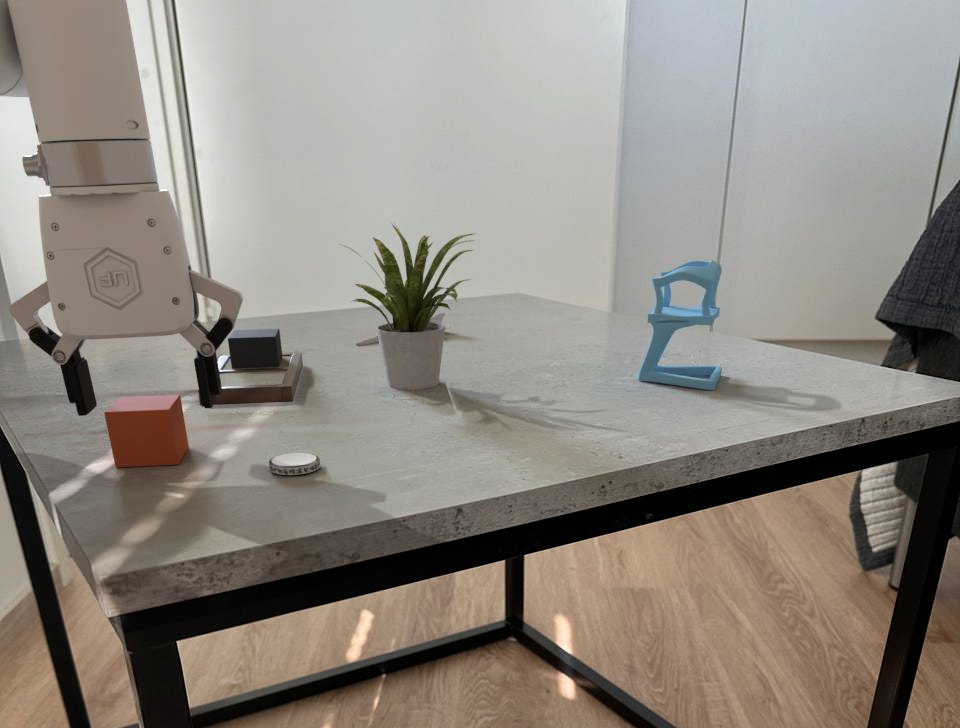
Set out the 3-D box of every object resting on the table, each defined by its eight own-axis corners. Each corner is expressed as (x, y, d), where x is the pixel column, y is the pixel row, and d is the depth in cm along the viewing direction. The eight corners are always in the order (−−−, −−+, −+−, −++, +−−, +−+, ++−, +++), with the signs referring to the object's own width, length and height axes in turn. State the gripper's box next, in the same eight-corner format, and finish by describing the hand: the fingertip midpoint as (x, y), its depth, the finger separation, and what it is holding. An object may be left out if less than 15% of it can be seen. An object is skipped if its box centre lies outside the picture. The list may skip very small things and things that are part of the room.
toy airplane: (335, 346, 119) (333, 327, 118) (444, 323, 133) (443, 306, 132) (377, 353, 114) (376, 333, 113) (485, 328, 128) (484, 311, 127)
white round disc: (321, 472, 72) (321, 464, 72) (269, 476, 71) (268, 468, 71) (318, 457, 75) (318, 450, 75) (269, 461, 75) (268, 454, 74)
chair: (646, 370, 103) (654, 254, 98) (722, 374, 101) (734, 256, 95) (632, 385, 97) (640, 263, 91) (713, 390, 94) (726, 265, 89)
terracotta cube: (115, 467, 74) (103, 412, 72) (129, 450, 79) (118, 397, 77) (178, 464, 75) (169, 409, 73) (189, 447, 79) (180, 394, 77)
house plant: (516, 381, 100) (516, 215, 92) (452, 410, 89) (447, 225, 81) (404, 369, 106) (396, 212, 98) (332, 395, 95) (316, 221, 87)
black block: (233, 381, 99) (227, 338, 97) (239, 371, 103) (233, 330, 101) (280, 379, 100) (275, 336, 97) (284, 370, 104) (279, 328, 102)
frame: (200, 410, 90) (197, 389, 89) (223, 373, 105) (221, 355, 104) (293, 406, 91) (291, 385, 90) (303, 370, 106) (301, 352, 105)
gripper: (-43, 176, 63) (23, 426, 71) (216, 167, 64) (252, 413, 72) (-4, 175, 69) (53, 403, 77) (229, 166, 71) (262, 391, 79)
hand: (149, 408), depth 75 cm, fingers open, 9 cm apart
